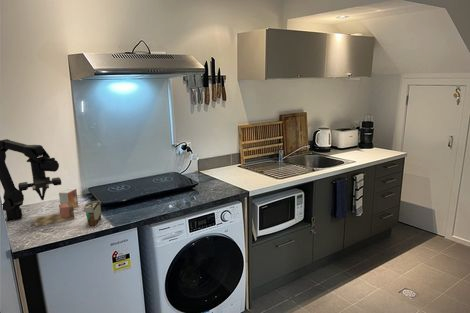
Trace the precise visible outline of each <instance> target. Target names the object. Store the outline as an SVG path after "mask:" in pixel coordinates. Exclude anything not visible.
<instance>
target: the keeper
mask: <svg viewBox="0 0 470 313" xmlns="http://www.w3.org/2000/svg"><path fill="white" fill-rule="evenodd" d="M58 208H59V213H61V218H66V217H70V214H69V207H68V204H67V203H66V204H58Z"/></svg>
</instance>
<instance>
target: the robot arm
mask: <svg viewBox="0 0 470 313" xmlns="http://www.w3.org/2000/svg"><path fill="white" fill-rule="evenodd" d="M7 151H12V152H17V153H20V154H23V155H24V156H25V157H26V158H28V159H27V160H26V163H30V169H31V174H32V175H31V176H32V181H33V182H32V183H31V182H29V183H28V181H23V182H19V183H18V186H17V187H18V188H16V186H15V183H14V180H13V178H12V176H11V173H10V171H9V168H8V166H7V163H6V159H7ZM59 167H60V163H59V162H58V160H56V158H55V157H51V156H50V154H49V153H48V152H47V151H46V150H45V148H44V146H43V145H40V144H25V143H22V142H18V141H15V140H10V139H8V138H6V139H5V138H4V139H1V140H0V183H1V185H2V188H3V190H4V193H3V196H2V198H3V203H2V204H1V205H3V210H2V211H5V215H6V222H13V221H17V220H22V217H23V212H22V211H23V210H22V207H20V206H23V204H24V201H25V198H24V197H25V195H24V193H23V191H27V190H28V189H29V188H32V191H35V192H36V193H37V194H38V197H39V198H40V200H41V201H44V200H45V195H46V192H47V189H49V188H50V185H53V186H55V187H56V186H61V185H62V180H61V178H60V177H52V178H50V176H46V172H53V173H55V172H57V171H58V170H59ZM41 190H42V191H41Z"/></svg>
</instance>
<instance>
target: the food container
mask: <svg viewBox="0 0 470 313" xmlns="http://www.w3.org/2000/svg"><path fill="white" fill-rule="evenodd" d="M101 204H102V203H101V200H93V201H90V202H88V203H86V204H84V207H83V211H84V212H85V214H86V219H87V225H88V226H89V227H92V226H94V227H95V226H96V225H97V226H98V224H99V223H100V222H101V221H102V210H101V207H102V206H101ZM97 226H96V227H97Z"/></svg>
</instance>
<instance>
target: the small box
mask: <svg viewBox="0 0 470 313" xmlns="http://www.w3.org/2000/svg"><path fill="white" fill-rule="evenodd" d="M58 196H59V202H60V204H66V203H68V202H71V203H72V205H73V209H75V208H77V207H79V200H78V193H77V188H66V189H64V190H63V191H60V192H59V193H58ZM60 204H59V205H60Z"/></svg>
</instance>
